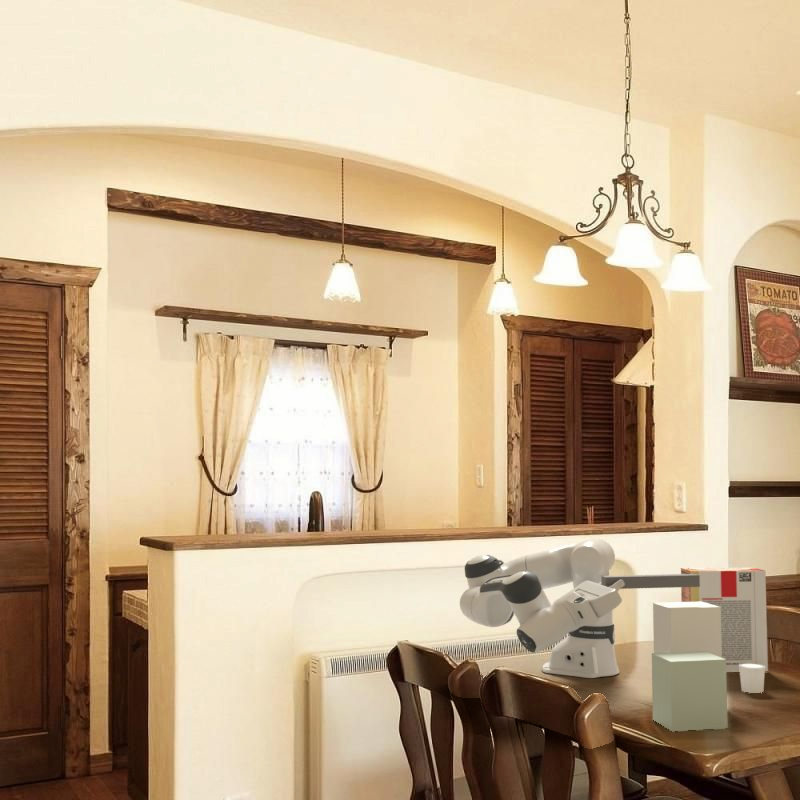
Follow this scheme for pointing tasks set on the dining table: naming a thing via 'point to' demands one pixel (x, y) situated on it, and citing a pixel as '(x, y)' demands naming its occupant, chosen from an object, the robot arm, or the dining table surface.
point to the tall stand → (687, 627)
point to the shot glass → (752, 677)
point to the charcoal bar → (654, 581)
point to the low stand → (689, 690)
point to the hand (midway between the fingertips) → (619, 580)
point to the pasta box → (735, 611)
